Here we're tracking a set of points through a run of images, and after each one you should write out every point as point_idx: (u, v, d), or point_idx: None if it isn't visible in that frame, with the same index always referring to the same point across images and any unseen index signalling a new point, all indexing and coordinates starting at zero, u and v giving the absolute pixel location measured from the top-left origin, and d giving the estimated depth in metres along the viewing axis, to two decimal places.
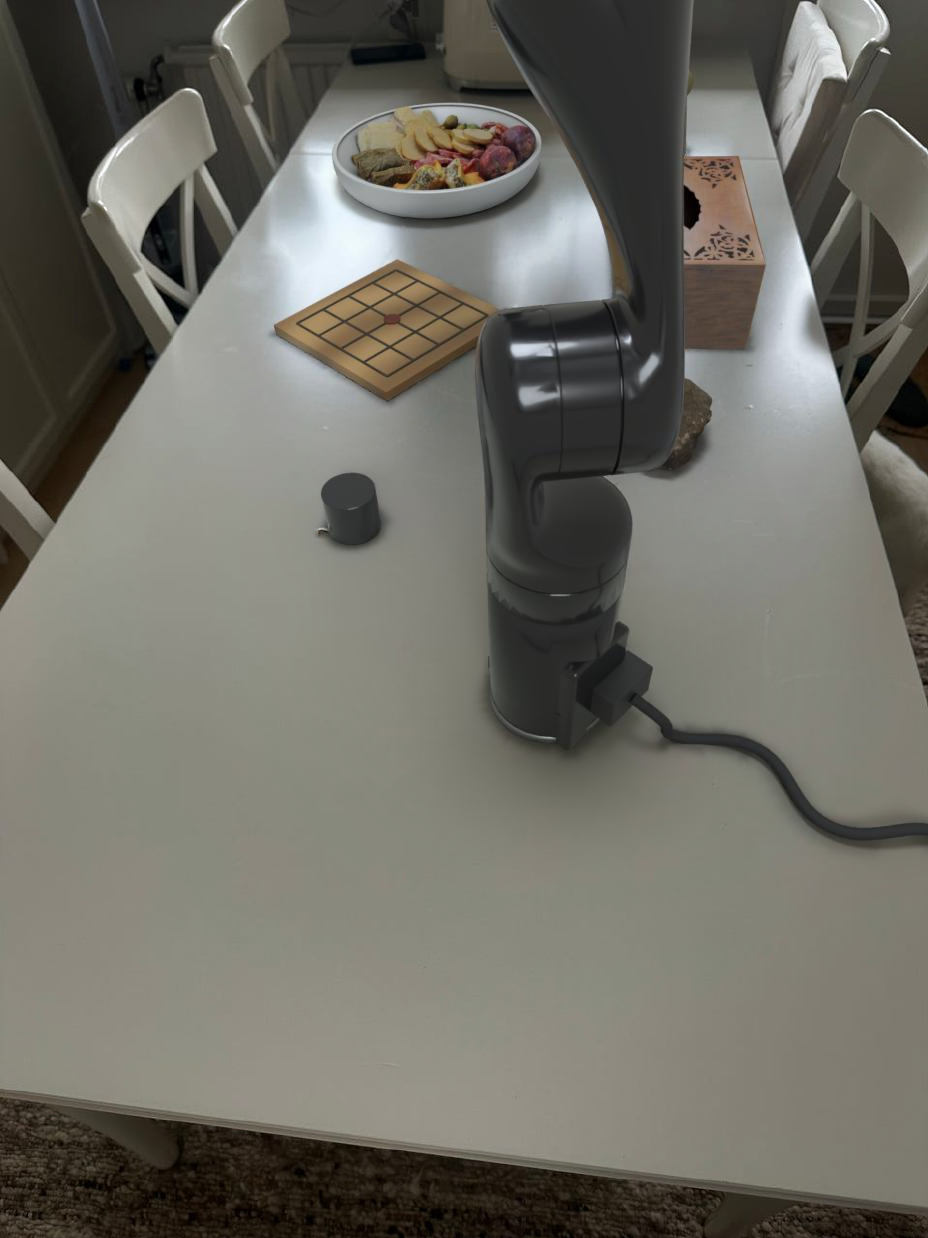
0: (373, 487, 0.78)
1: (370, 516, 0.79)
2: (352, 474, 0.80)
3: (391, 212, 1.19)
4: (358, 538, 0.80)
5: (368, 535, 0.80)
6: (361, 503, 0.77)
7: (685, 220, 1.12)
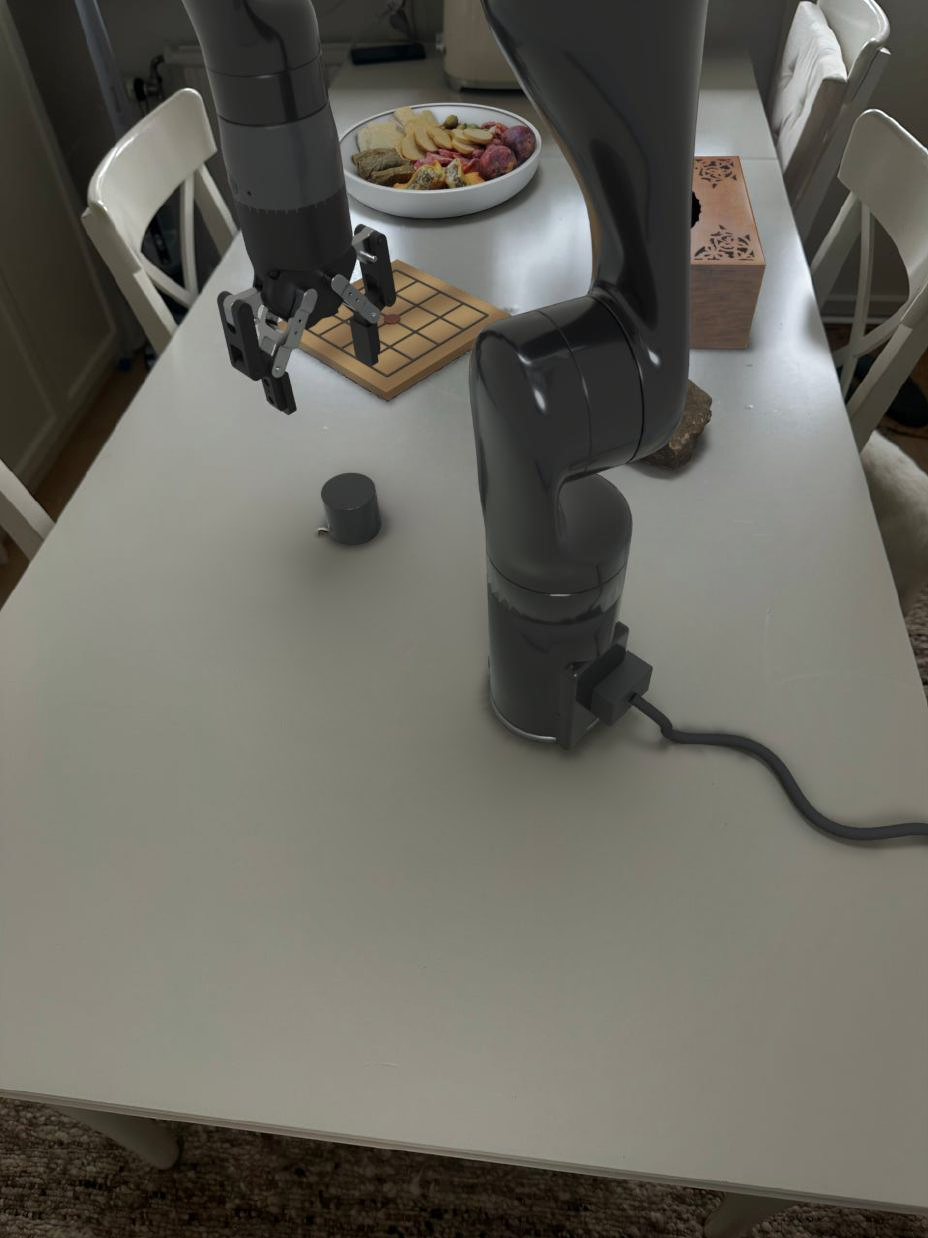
0: (373, 487, 0.78)
1: (370, 516, 0.79)
2: (352, 474, 0.80)
3: (391, 212, 1.18)
4: (358, 538, 0.80)
5: (368, 535, 0.80)
6: (361, 503, 0.77)
7: None
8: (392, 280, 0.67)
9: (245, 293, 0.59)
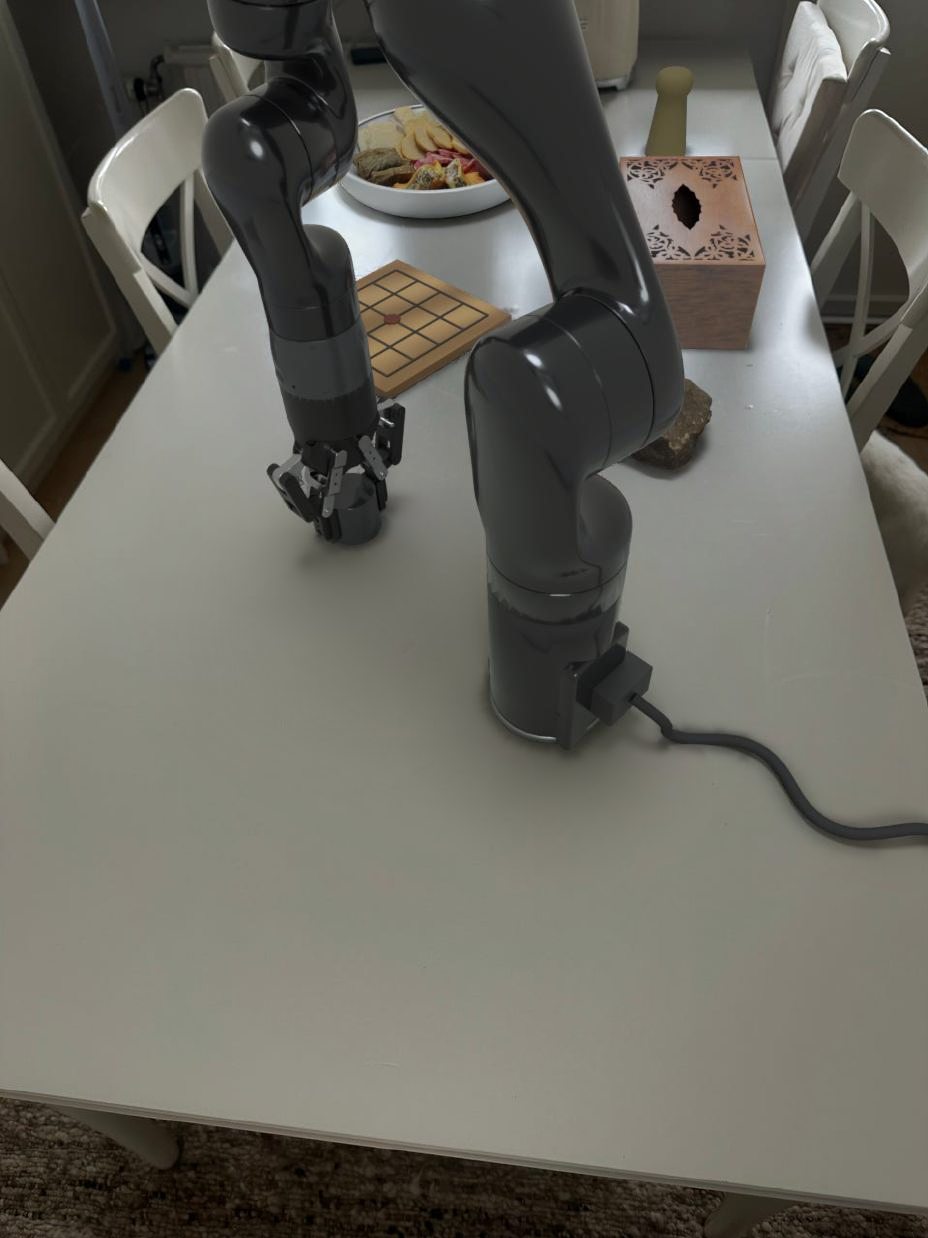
0: (373, 487, 0.78)
1: (370, 516, 0.79)
2: (352, 474, 0.80)
3: (391, 212, 1.18)
4: (358, 538, 0.80)
5: (368, 535, 0.80)
6: (361, 503, 0.77)
7: (685, 220, 1.12)
8: (401, 444, 0.78)
9: (288, 463, 0.71)
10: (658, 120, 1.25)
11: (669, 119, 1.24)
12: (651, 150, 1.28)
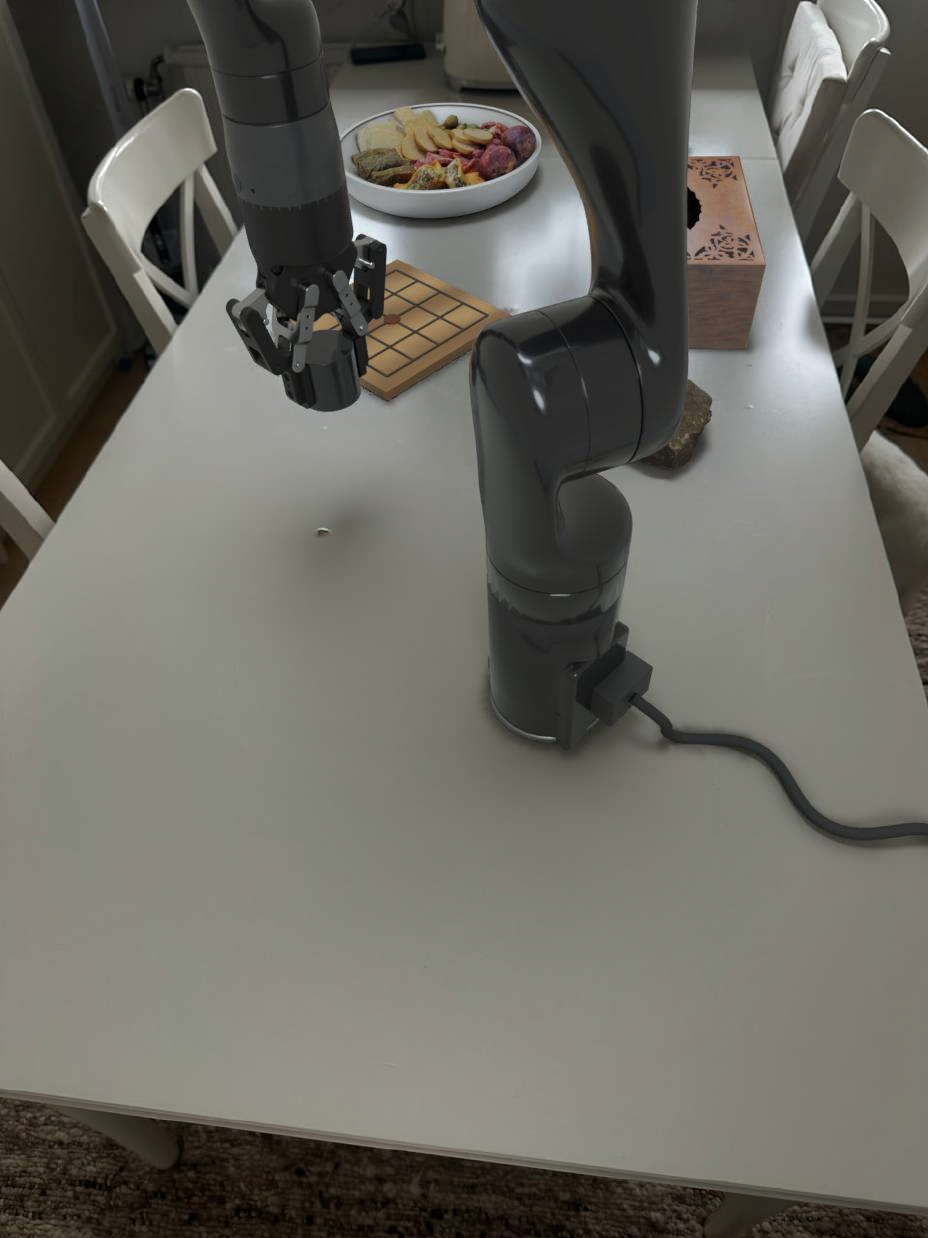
0: (351, 342, 0.69)
1: (347, 376, 0.69)
2: (327, 330, 0.70)
3: (391, 212, 1.18)
4: (335, 403, 0.70)
5: (346, 400, 0.70)
6: (337, 357, 0.67)
7: None
8: (383, 293, 0.69)
9: (250, 297, 0.61)
10: None
11: None
12: None
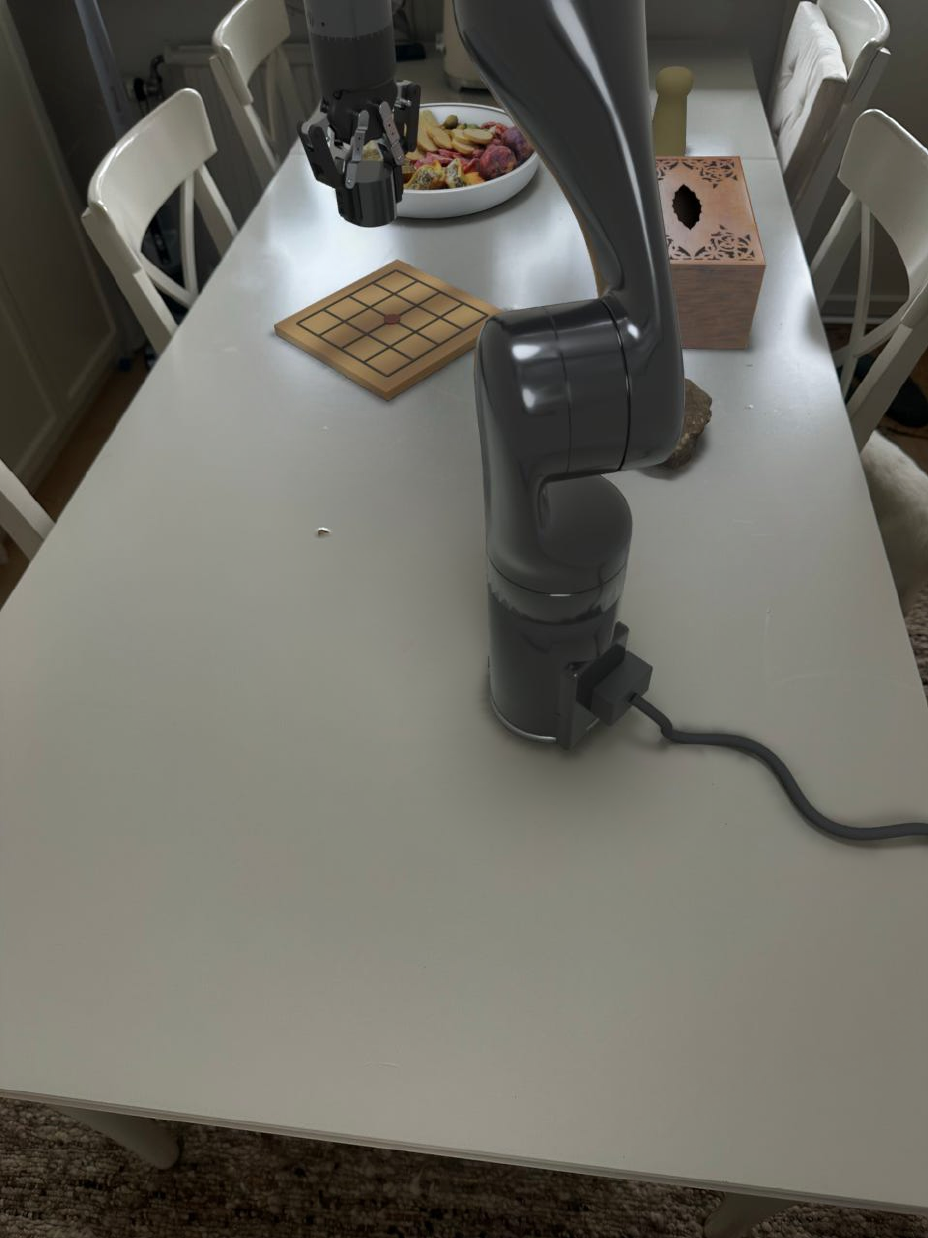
0: (390, 168, 0.86)
1: (387, 196, 0.86)
2: (371, 161, 0.87)
3: None
4: (377, 220, 0.87)
5: (386, 218, 0.87)
6: (380, 178, 0.85)
7: (686, 220, 1.12)
8: (417, 129, 0.86)
9: (316, 118, 0.79)
10: (658, 120, 1.25)
11: (669, 119, 1.24)
12: None
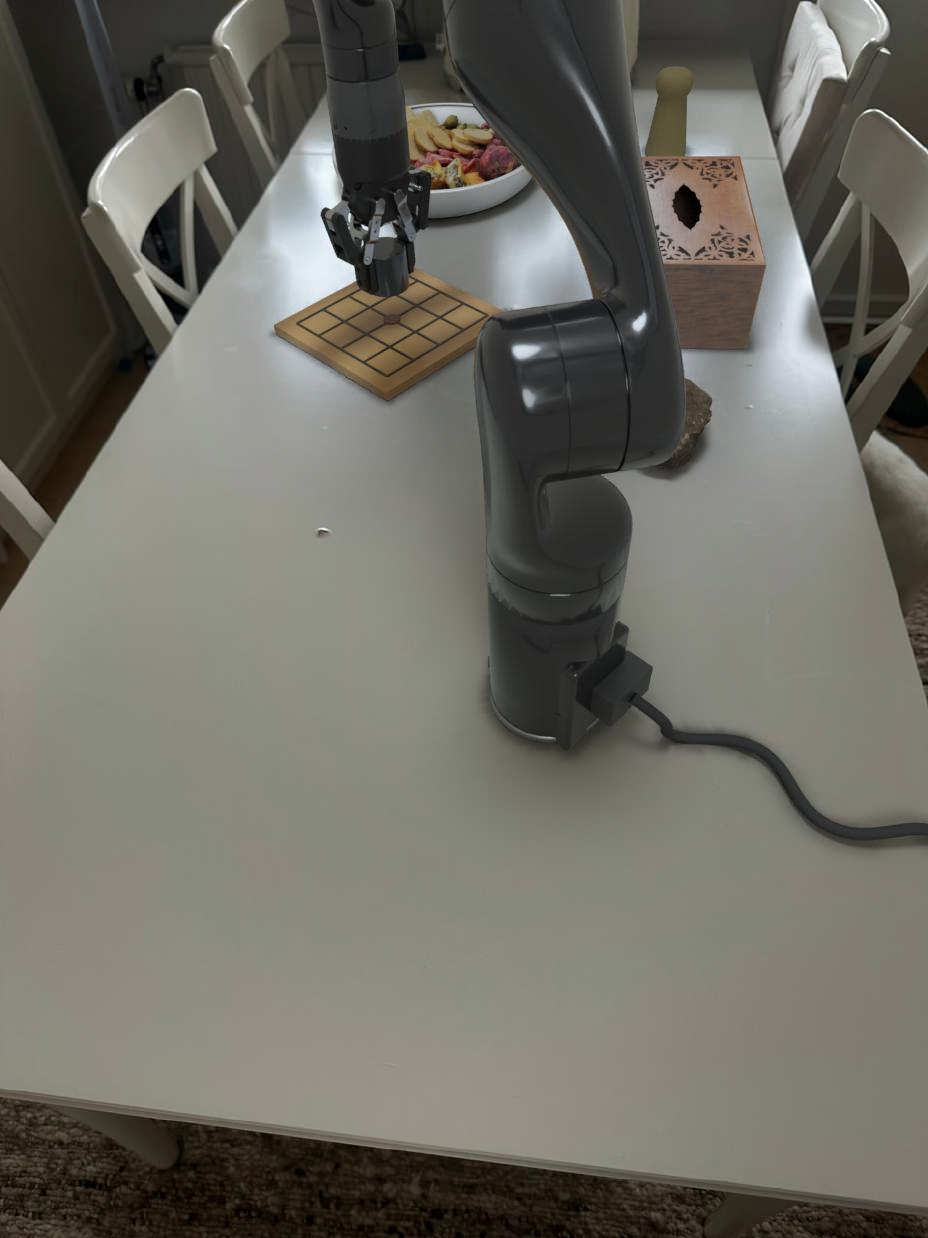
0: (404, 245, 0.95)
1: (401, 270, 0.95)
2: (386, 237, 0.96)
3: None
4: (391, 290, 0.96)
5: (399, 288, 0.97)
6: (395, 254, 0.94)
7: (686, 220, 1.12)
8: (427, 210, 0.95)
9: (338, 206, 0.88)
10: (658, 120, 1.25)
11: (669, 119, 1.24)
12: (651, 150, 1.28)
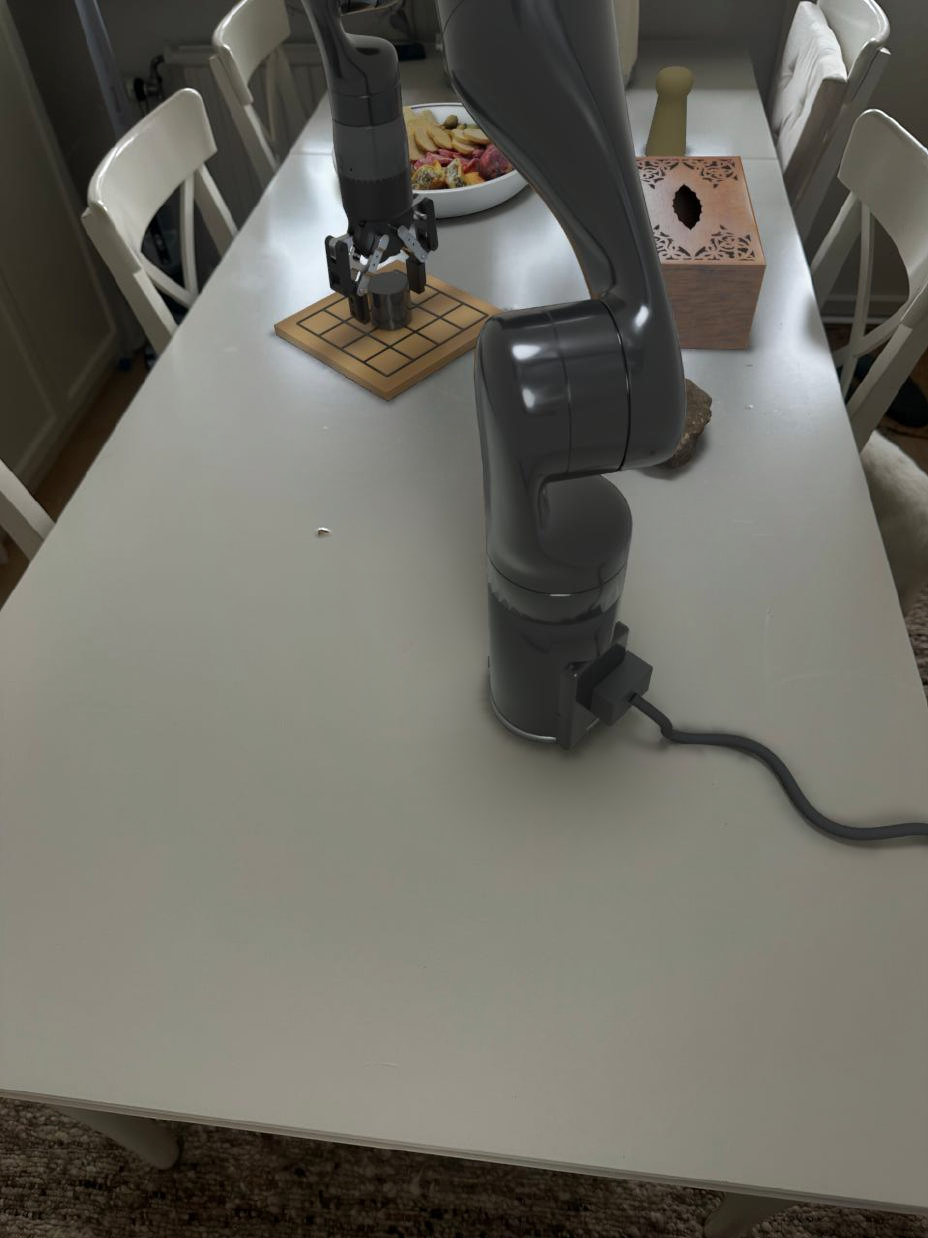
0: (407, 280, 0.98)
1: (404, 304, 0.99)
2: (390, 272, 1.00)
3: None
4: (395, 323, 1.00)
5: (403, 322, 1.00)
6: (398, 290, 0.97)
7: (687, 220, 1.12)
8: (436, 232, 0.98)
9: (343, 236, 0.90)
10: (658, 120, 1.25)
11: (669, 119, 1.24)
12: (651, 150, 1.28)
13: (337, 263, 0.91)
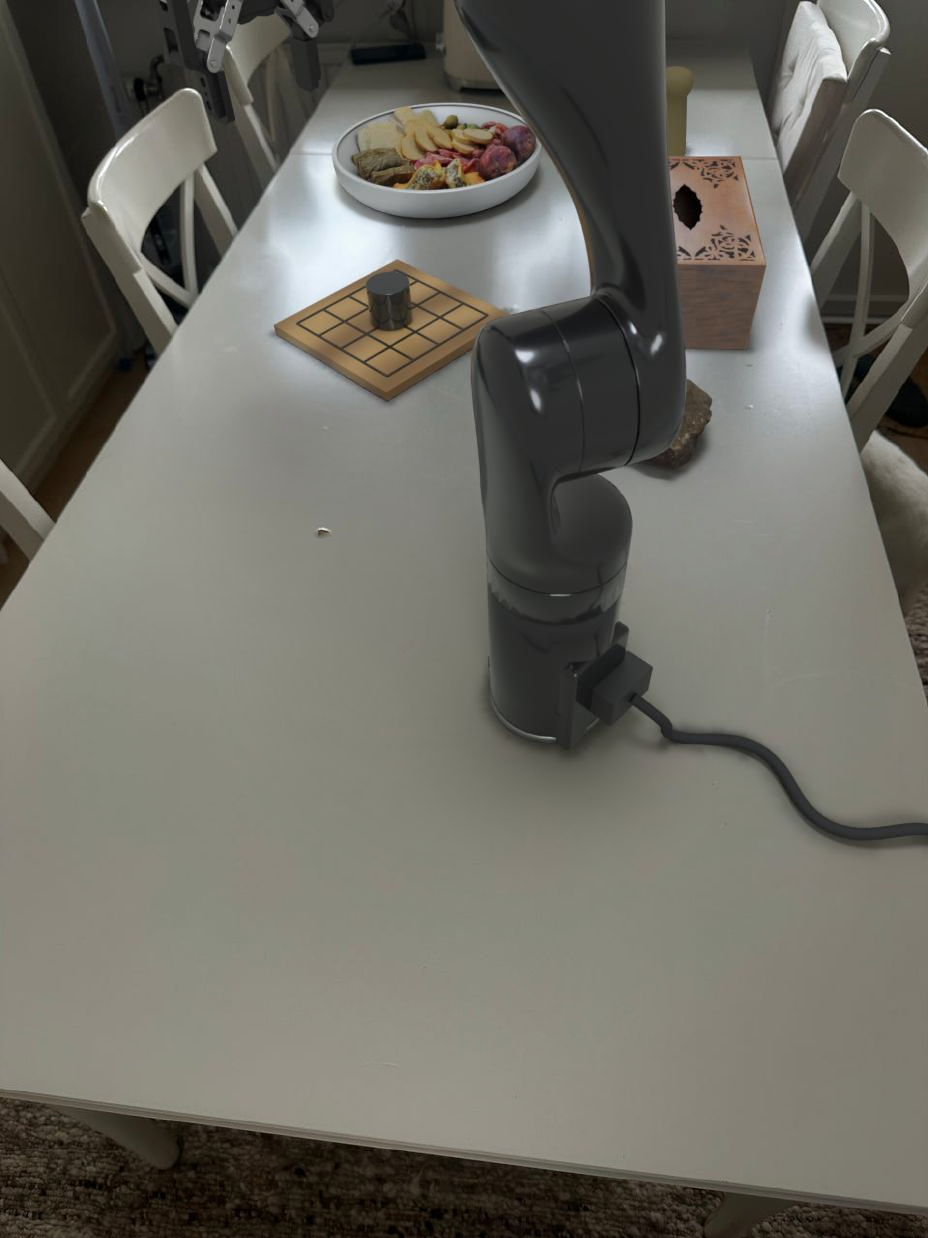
0: (407, 280, 0.98)
1: (404, 304, 0.99)
2: (390, 272, 1.00)
3: (391, 212, 1.18)
4: (395, 323, 1.00)
5: (403, 322, 1.00)
6: (398, 290, 0.97)
7: (687, 220, 1.12)
8: None
9: None
10: None
11: (669, 119, 1.24)
12: None
13: (169, 9, 0.61)
